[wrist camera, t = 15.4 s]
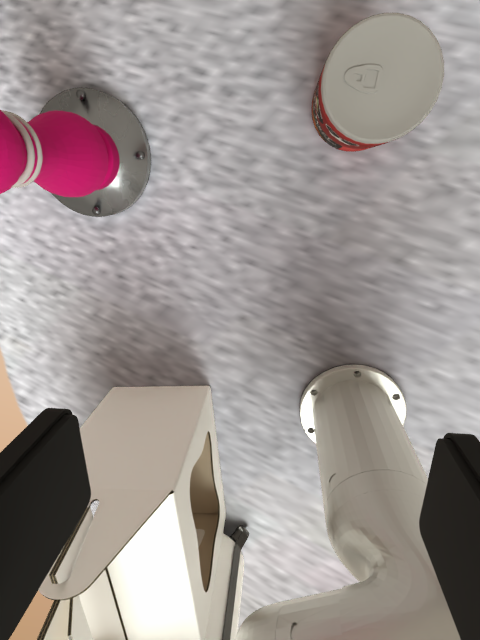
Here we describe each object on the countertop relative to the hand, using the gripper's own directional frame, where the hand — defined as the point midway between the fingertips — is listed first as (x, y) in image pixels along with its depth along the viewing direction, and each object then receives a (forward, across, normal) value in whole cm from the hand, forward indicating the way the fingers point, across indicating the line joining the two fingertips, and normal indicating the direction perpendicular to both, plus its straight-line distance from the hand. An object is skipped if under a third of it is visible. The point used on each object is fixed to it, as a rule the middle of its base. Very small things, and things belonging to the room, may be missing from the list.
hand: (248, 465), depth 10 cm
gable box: (+34, +13, +29) cm, 46 cm away
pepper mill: (+32, +19, -9) cm, 38 cm away
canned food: (+34, -7, -13) cm, 37 cm away
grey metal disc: (+33, +19, -9) cm, 39 cm away
